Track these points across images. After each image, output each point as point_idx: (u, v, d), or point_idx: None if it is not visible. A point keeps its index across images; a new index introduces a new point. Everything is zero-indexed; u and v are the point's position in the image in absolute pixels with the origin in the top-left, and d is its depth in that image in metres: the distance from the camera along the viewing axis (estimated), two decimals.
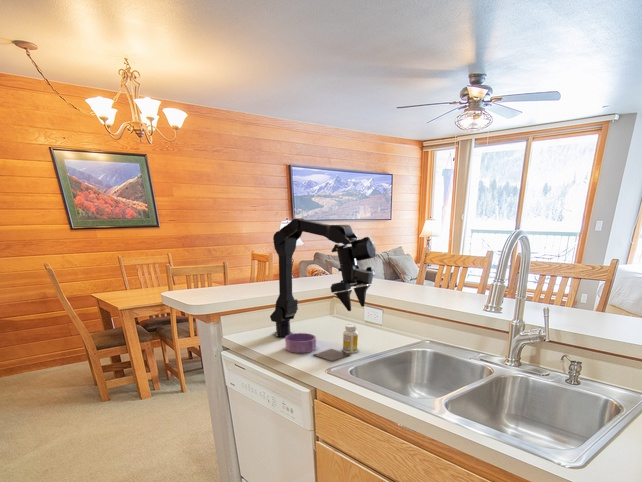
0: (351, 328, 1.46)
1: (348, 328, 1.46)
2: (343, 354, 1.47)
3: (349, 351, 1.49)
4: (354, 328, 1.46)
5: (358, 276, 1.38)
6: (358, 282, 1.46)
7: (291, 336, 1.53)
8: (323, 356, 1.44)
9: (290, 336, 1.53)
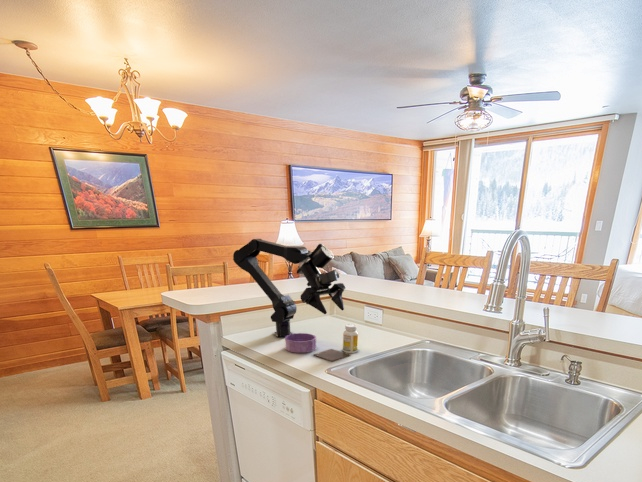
0: (351, 328, 1.46)
1: (348, 328, 1.46)
2: (343, 354, 1.47)
3: (349, 351, 1.49)
4: (354, 328, 1.46)
5: (322, 280, 1.46)
6: (330, 290, 1.54)
7: (291, 336, 1.53)
8: (323, 356, 1.44)
9: (290, 336, 1.53)
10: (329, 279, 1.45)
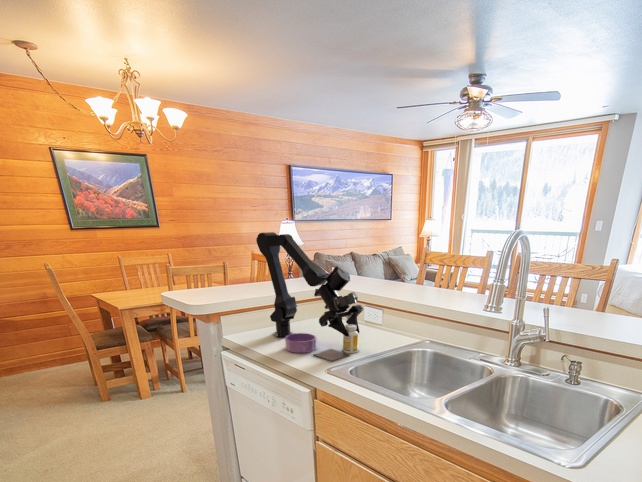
0: (351, 328, 1.46)
1: (348, 328, 1.46)
2: (343, 354, 1.47)
3: (349, 351, 1.49)
4: (354, 328, 1.46)
5: (340, 303, 1.44)
6: (348, 312, 1.51)
7: (291, 336, 1.53)
8: (323, 356, 1.44)
9: (290, 336, 1.53)
10: (348, 302, 1.42)
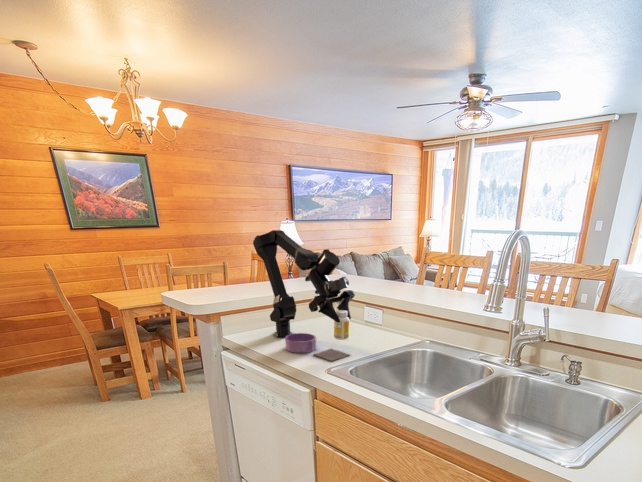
0: (342, 314, 1.41)
1: (339, 314, 1.41)
2: (343, 354, 1.47)
3: (340, 338, 1.44)
4: (345, 314, 1.42)
5: (331, 287, 1.39)
6: (340, 297, 1.46)
7: (291, 336, 1.53)
8: (323, 356, 1.44)
9: (290, 336, 1.53)
10: (339, 287, 1.37)
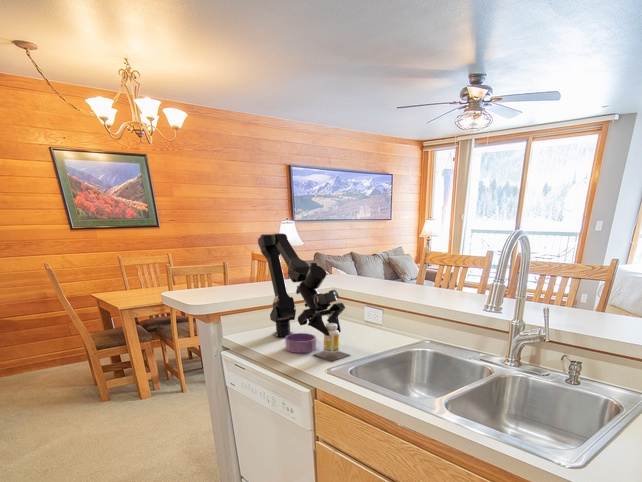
0: (331, 327, 1.40)
1: (328, 327, 1.40)
2: (343, 354, 1.47)
3: (330, 351, 1.43)
4: (335, 327, 1.41)
5: (320, 301, 1.38)
6: (329, 310, 1.45)
7: (291, 336, 1.53)
8: (323, 356, 1.44)
9: (290, 336, 1.53)
10: (328, 300, 1.36)
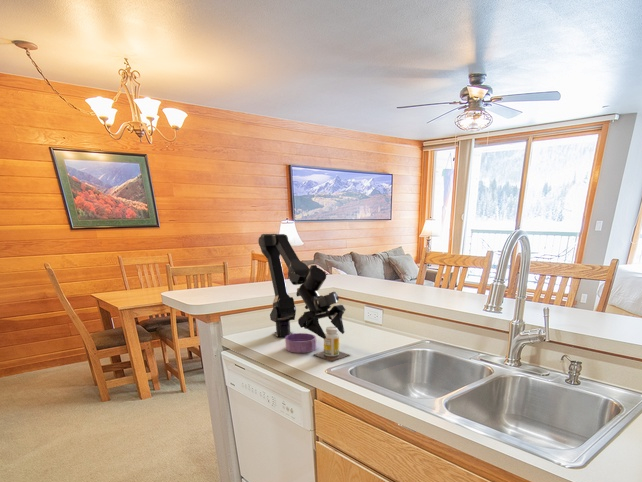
0: (331, 331, 1.41)
1: (328, 331, 1.41)
2: (343, 354, 1.47)
3: (330, 354, 1.44)
4: (335, 331, 1.41)
5: (320, 303, 1.38)
6: (330, 312, 1.46)
7: (291, 336, 1.53)
8: (323, 356, 1.44)
9: (290, 336, 1.53)
10: (328, 302, 1.37)
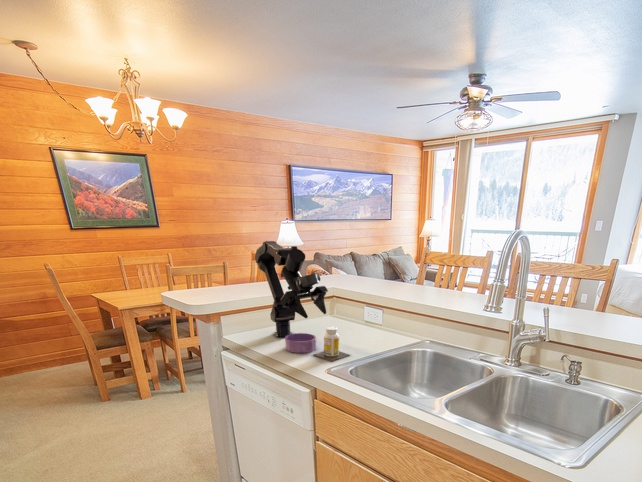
0: (331, 331, 1.41)
1: (328, 331, 1.41)
2: (343, 354, 1.47)
3: (330, 354, 1.44)
4: (335, 331, 1.41)
5: (302, 283, 1.42)
6: (312, 293, 1.49)
7: (291, 336, 1.53)
8: (323, 356, 1.44)
9: (290, 336, 1.53)
10: (309, 282, 1.40)
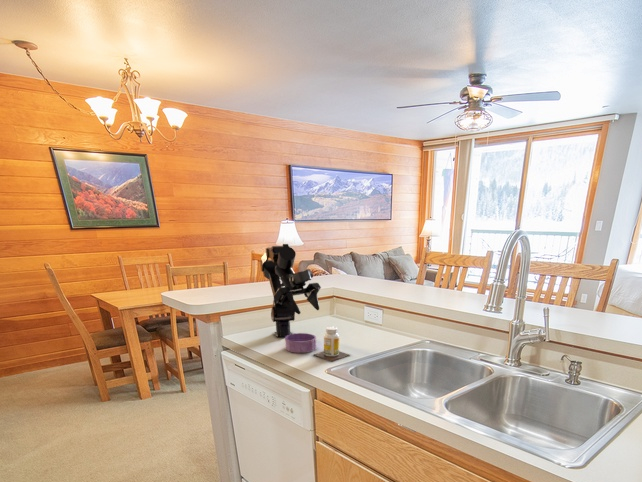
0: (331, 331, 1.41)
1: (328, 331, 1.41)
2: (343, 354, 1.47)
3: (330, 354, 1.44)
4: (335, 331, 1.41)
5: (295, 279, 1.44)
6: (305, 290, 1.51)
7: (291, 336, 1.53)
8: (323, 356, 1.44)
9: (290, 336, 1.53)
10: (302, 278, 1.42)
